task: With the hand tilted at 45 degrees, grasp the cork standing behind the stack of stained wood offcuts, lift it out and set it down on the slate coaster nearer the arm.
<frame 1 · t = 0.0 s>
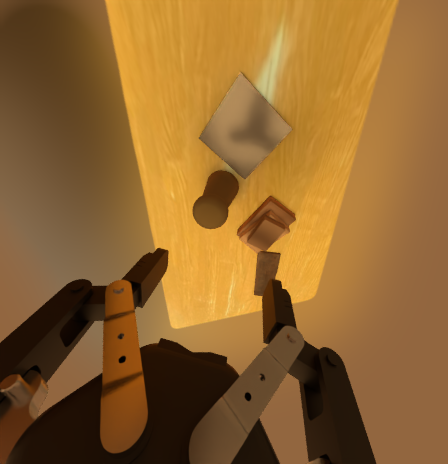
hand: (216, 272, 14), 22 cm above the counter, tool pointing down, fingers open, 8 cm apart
slate coaster: (243, 133, 28), on the counter
offcut stack: (264, 222, 36), on the counter
cork: (222, 186, 34), on the counter
wooden plank: (265, 273, 46), on the counter
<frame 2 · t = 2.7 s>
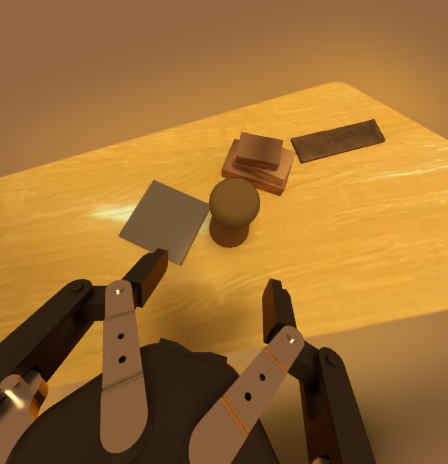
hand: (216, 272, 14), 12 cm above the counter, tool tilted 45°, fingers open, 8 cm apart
slate coaster: (167, 221, 27), on the counter
offcut stack: (255, 170, 30), on the counter
cork: (229, 228, 28), on the counter
wooden plank: (335, 143, 33), on the counter
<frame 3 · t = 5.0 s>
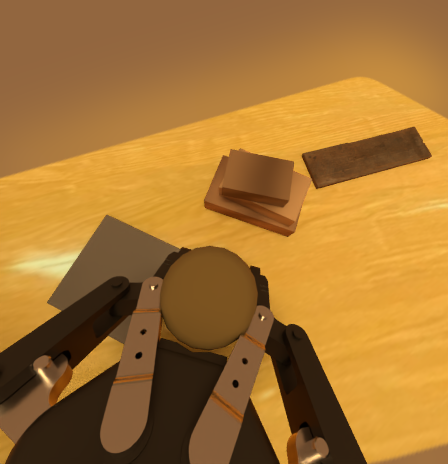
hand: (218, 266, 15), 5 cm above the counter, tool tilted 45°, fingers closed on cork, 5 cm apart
slate coaster: (123, 276, 19), on the counter
offcut stack: (253, 199, 22), on the counter
cork: (213, 287, 19), on the counter, touching gripper
wooden plank: (362, 159, 24), on the counter
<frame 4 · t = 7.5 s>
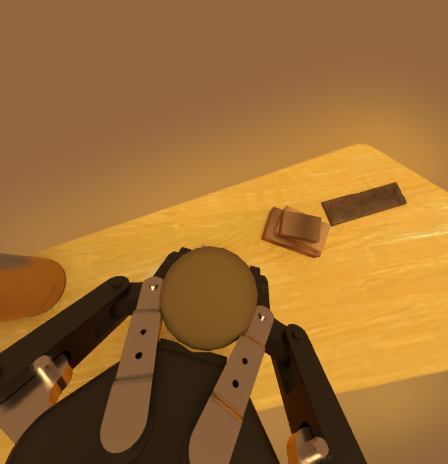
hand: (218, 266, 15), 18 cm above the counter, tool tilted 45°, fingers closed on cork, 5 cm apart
offcut stack: (291, 233, 34), on the counter
cork: (213, 287, 19), point 13 cm above the counter, touching gripper
wooden plank: (361, 204, 36), on the counter
when the fingers open (7 cm above the counter, at t = 9.9 s): cork drops 1 cm, resting on slate coaster.
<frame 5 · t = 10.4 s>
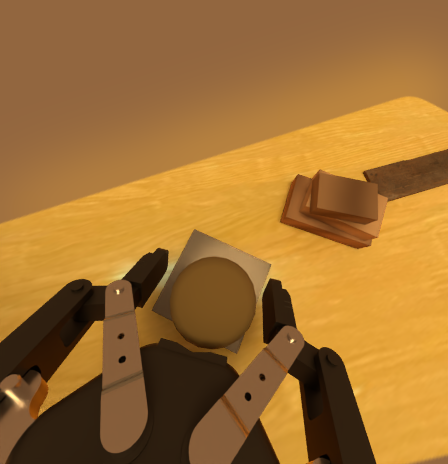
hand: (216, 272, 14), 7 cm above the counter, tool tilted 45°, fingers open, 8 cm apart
slate coaster: (214, 286, 21), on the counter
offcut stack: (323, 214, 23), on the counter
cork: (215, 290, 20), resting on slate coaster
wooden plank: (416, 175, 26), on the counter
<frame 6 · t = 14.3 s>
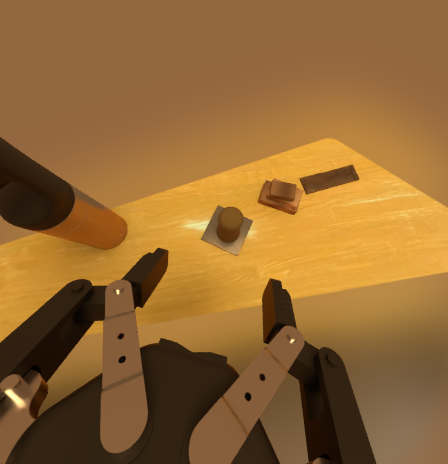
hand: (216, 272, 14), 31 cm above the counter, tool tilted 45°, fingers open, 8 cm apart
slate coaster: (227, 230, 47), on the counter
offcut stack: (278, 199, 49), on the counter
cork: (228, 231, 46), resting on slate coaster
wooden plank: (327, 180, 52), on the counter
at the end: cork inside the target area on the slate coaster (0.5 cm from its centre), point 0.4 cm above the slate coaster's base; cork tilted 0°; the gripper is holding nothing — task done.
